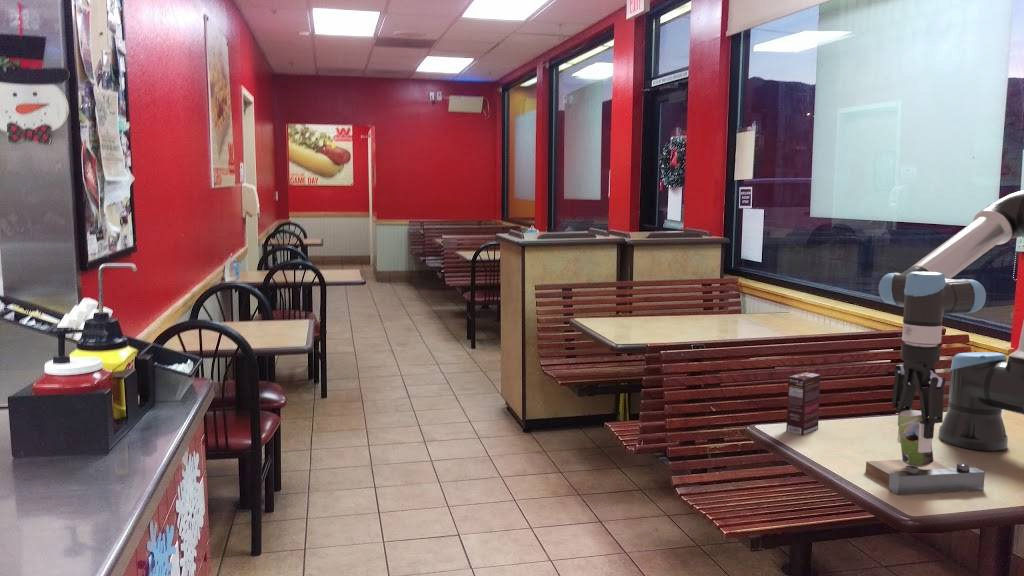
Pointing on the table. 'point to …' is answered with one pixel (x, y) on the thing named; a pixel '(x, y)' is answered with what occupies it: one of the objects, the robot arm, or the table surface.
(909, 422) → the beverage can
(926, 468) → the brown wooden board
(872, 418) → the table surface
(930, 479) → the stop bar
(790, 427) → the supplement box
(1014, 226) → the robot arm
